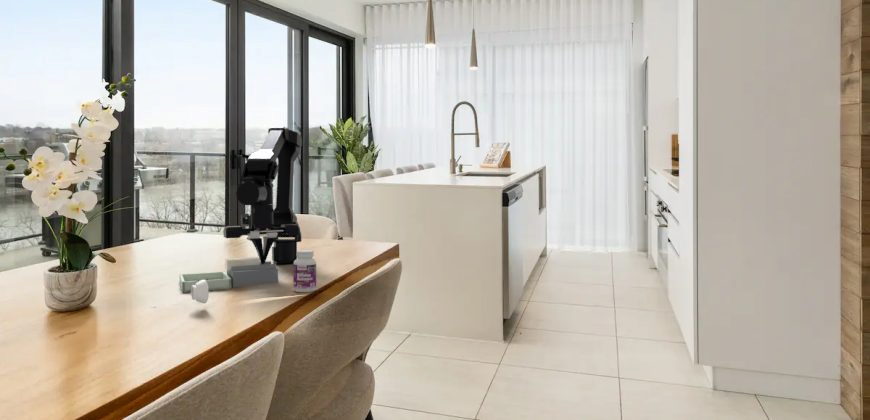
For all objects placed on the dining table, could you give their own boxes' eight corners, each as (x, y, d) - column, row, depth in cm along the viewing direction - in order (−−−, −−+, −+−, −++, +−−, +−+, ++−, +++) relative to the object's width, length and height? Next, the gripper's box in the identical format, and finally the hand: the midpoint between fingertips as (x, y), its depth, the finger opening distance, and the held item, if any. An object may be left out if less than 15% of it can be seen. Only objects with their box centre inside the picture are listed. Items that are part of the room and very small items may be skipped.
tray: (224, 280, 150) (224, 271, 150) (231, 288, 138) (231, 278, 138) (179, 284, 145) (179, 274, 145) (182, 292, 133) (182, 282, 133)
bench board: (269, 278, 155) (269, 260, 154) (278, 284, 144) (277, 265, 144) (227, 281, 150) (226, 262, 149) (233, 288, 139) (232, 268, 139)
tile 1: (241, 267, 147) (241, 257, 147) (243, 269, 144) (243, 259, 144) (225, 268, 146) (225, 258, 145) (227, 270, 142) (227, 260, 142)
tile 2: (257, 266, 149) (257, 257, 149) (259, 268, 146) (259, 258, 146) (241, 267, 147) (241, 257, 147) (243, 269, 144) (243, 259, 144)
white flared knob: (209, 304, 119) (209, 281, 119) (194, 306, 117) (194, 282, 117) (205, 300, 123) (204, 278, 123) (190, 302, 121) (190, 279, 121)
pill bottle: (296, 293, 131) (296, 252, 131) (291, 289, 136) (290, 250, 136) (319, 291, 134) (318, 251, 134) (313, 288, 139) (312, 249, 138)
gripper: (290, 203, 159) (291, 258, 159) (220, 204, 150) (221, 262, 151) (300, 204, 149) (301, 262, 149) (225, 205, 140) (227, 267, 141)
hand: (262, 263), depth 148 cm, fingers closed
